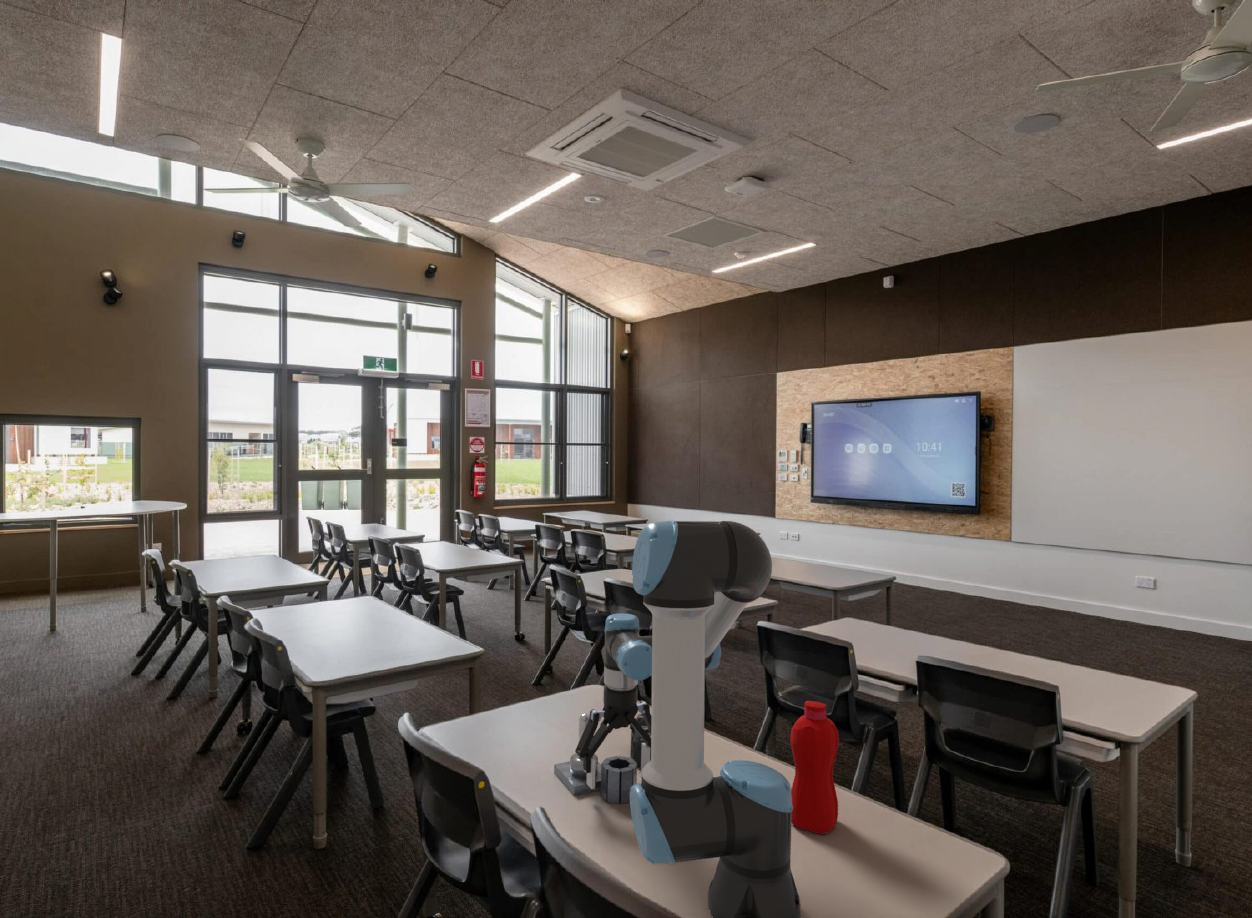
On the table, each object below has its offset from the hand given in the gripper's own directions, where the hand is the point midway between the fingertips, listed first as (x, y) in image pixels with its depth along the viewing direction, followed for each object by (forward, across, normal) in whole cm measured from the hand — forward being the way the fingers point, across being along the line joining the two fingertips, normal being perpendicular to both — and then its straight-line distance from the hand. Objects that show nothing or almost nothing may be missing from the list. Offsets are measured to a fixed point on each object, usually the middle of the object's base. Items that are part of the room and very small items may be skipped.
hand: (618, 779), depth 152 cm
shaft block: (+3, +4, -10) cm, 11 cm away
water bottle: (+3, -32, +27) cm, 42 cm away
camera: (+4, -15, -15) cm, 21 cm away
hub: (+3, 0, 0) cm, 3 cm away
